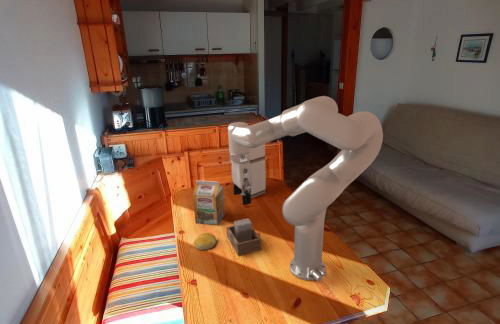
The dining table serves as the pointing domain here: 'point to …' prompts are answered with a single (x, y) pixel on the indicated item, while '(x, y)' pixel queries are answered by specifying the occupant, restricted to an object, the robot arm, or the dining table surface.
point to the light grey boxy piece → (257, 171)
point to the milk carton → (208, 203)
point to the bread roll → (205, 241)
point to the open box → (244, 246)
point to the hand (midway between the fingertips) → (242, 198)
